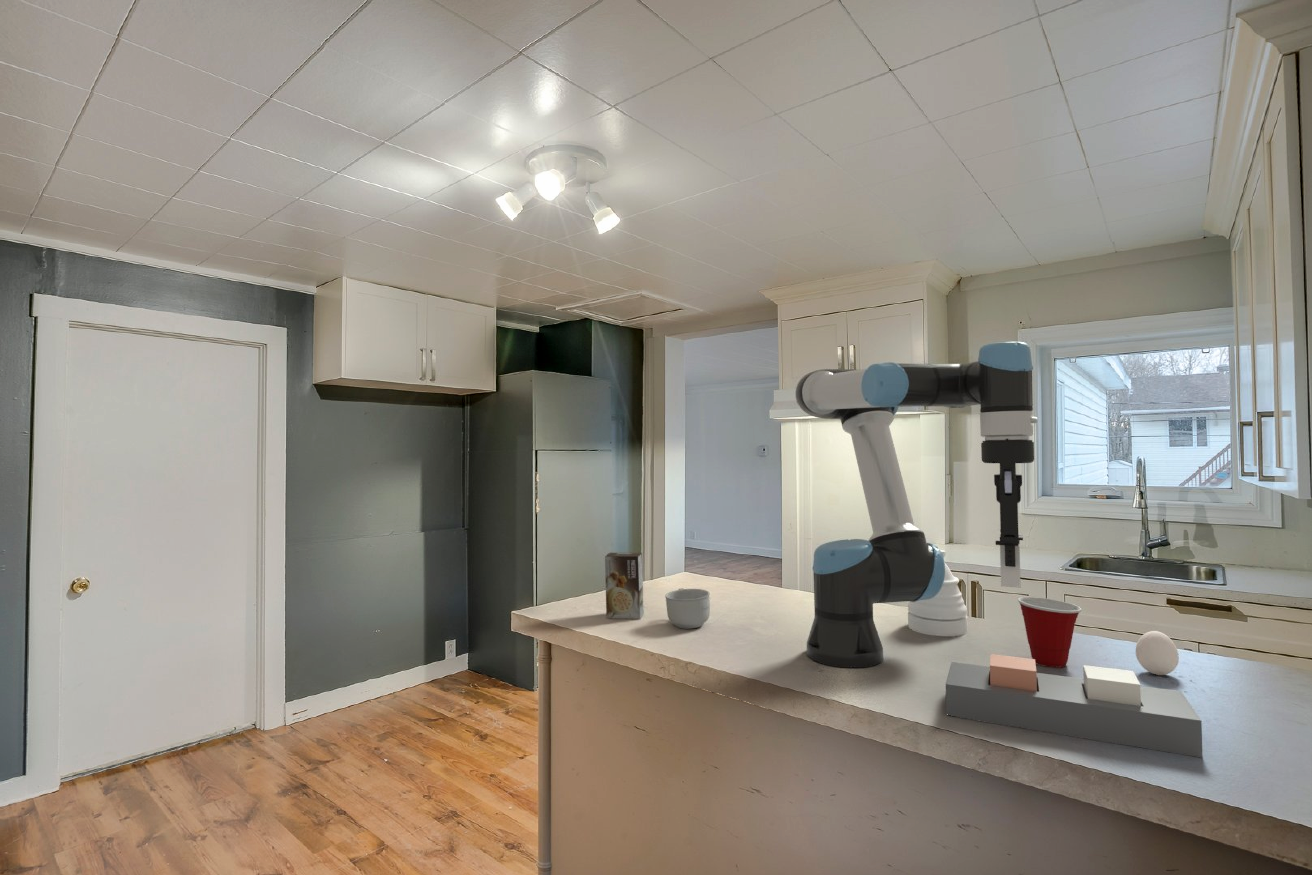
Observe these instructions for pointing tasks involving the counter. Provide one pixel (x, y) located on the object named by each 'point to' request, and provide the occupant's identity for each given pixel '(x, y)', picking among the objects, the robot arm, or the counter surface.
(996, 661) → the terracotta key
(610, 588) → the coffee box
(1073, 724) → the key console
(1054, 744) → the counter surface
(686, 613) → the teacup
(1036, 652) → the plastic cup
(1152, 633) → the egg
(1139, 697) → the offwhite key
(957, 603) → the honey pot
